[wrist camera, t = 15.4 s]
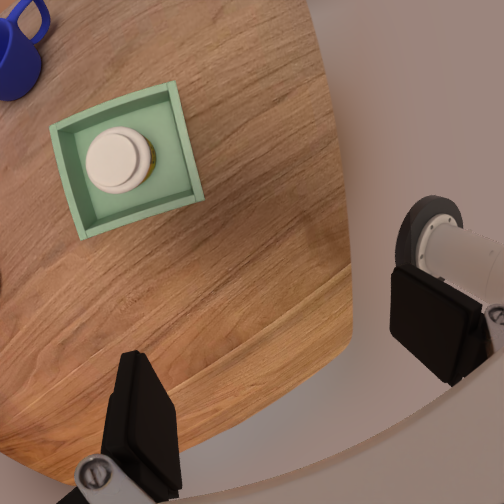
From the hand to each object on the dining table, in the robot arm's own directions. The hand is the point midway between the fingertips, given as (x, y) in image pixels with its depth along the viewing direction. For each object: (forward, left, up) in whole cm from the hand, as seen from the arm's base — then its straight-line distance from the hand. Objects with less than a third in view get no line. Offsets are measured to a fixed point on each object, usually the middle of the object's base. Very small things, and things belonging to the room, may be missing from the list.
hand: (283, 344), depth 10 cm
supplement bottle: (+6, -8, -24) cm, 26 cm away
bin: (+6, -8, -25) cm, 27 cm away
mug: (+16, -25, -25) cm, 39 cm away
